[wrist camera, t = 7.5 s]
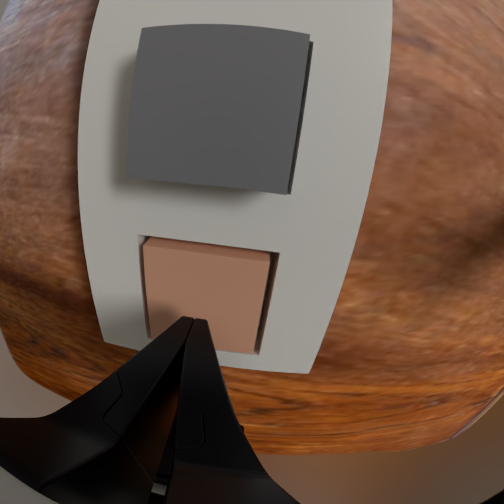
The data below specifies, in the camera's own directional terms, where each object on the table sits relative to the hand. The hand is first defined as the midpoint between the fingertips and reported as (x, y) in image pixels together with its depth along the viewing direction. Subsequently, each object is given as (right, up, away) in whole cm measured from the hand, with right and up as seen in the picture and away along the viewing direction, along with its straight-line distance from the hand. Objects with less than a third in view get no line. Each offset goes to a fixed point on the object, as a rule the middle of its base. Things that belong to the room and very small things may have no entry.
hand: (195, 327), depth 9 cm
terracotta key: (0, +1, +3) cm, 3 cm away
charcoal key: (+1, +7, -1) cm, 7 cm away
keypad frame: (+1, +8, +1) cm, 8 cm away
